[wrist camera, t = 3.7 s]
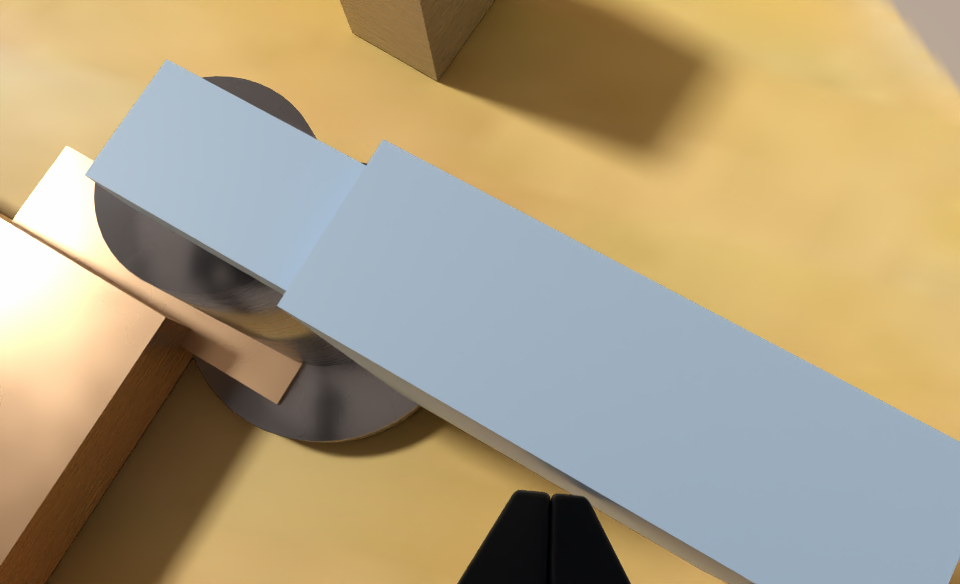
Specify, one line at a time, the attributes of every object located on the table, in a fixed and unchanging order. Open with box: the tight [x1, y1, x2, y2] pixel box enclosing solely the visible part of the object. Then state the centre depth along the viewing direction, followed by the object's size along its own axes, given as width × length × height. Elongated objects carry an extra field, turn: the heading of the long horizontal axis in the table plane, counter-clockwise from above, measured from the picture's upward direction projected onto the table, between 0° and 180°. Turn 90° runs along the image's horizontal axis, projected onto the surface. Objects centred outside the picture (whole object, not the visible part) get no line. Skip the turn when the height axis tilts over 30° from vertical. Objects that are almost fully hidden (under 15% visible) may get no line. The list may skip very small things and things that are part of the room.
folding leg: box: [85, 60, 960, 584], centre depth 12 cm, size 9×2×8 cm, turn 60°
